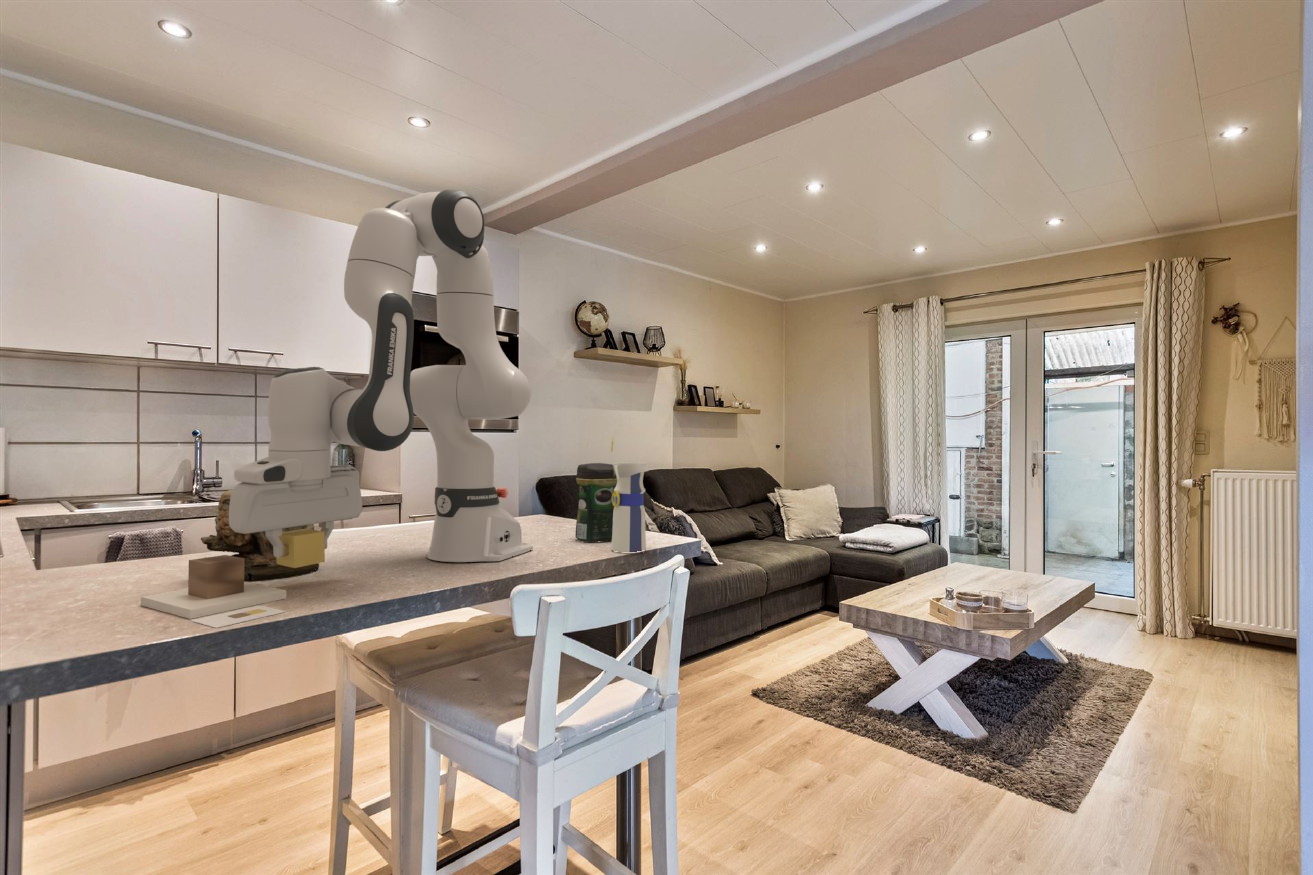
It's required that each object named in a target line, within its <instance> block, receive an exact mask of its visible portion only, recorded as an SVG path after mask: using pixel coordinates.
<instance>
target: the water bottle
mask: <svg viewBox="0 0 1313 875" xmlns="http://www.w3.org/2000/svg"><path fill="white" fill-rule="evenodd" d="M611 439H612V440H611V447H610V448H611V449H610V452H613V449H614V448H613V447H614V437H612V438H611ZM612 465H613V470H614V475H615V474H616V477H617V482H616V485H615V489H614V492H613V494H612V504H613V506H614V510H613V531H612V540H611V545H610V546H611V548H610V550H613V551H618V552H637V551H642V550H646V551H647V541H646V508H645V505H644V494H645V492H646V488H645V487H644V482H643V481H644V475H645V472H649V471H650V467H649V464H648V463H647V462H633V461H632V462H631V461H627V462H612Z"/></svg>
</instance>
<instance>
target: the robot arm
mask: <svg viewBox="0 0 1313 875" xmlns="http://www.w3.org/2000/svg"><path fill="white" fill-rule="evenodd" d="M485 230H486V229H485V219H484V213H483V210H482V209H481V207H480V205H479V203H478V201H477V200H476V198H474V196H473V195H472V194H470V193H468V192H466V191H463V190H460V189H459V190H457V189H444V190H441V191H428V192H423V193H418V194H417V195H414V196H411V197H407V198H405V199H398V200H395V201H393V202H391V203H389V204H388V205H386V206H385V207H375V208H372V209H369V210H368V211H367V212H365V213H364V214H363V216H362V217H361V219H360V222H359V224H358V225H357V228H356V230H355V234H354V236H353V239H352V242H351V245H350V248H349V253H348V258H347V262H346V266H345V273H344V281H343V282H344V283H343V294H344V296H343V297H344V299H345V302H346V303H347V305H348V307H349V308H350V309H351V310H352V311H353V313H354V314H356V316H358V317H359V318H361V319H362V320H364V321H365V322H366V323H367V325H368V326H369V328H370V330H371V338H372V339H371V350H370V351H371V352H370V358H369V370H368V378H367V379H368V380H367V383H366V384H365V386H364V387H363V388H362V389H359V388H356V387H354V386H351V385H349V384H347V383H344V382H342V381H340V380H339V379H337V378H336V377H334V376H332V375H331V374H330V373H329V372H327V371H326V369H325V368H322V367H320V366H308V367H299V368H298V367H297V368H290V369H284V370H280V371H279V372H277V373H276V374H274V375H273V377H272V379H271V383H270V386H269V392H268V393H269V394H268V406H267V423H268V426H269V430H270V440H269V444H268V448H267V449H268V453H267V454H268V456H265V457H264V458H261V459H258V460H256V461H253V462H250V463H248V464H244V465H242V466H239V467H236V469H234V473H233V476H234V480H235V481H236V482H239V483H238V484H236V485H235V486H234V487H233V488H232V489H233V490H232V493H231V497H230V505H229V526H230V527H231V528H232V530H234V531H235V532H237V533H243V534H249V533H255V532H262V531H266V537H267V538H268V540H269V541H270V543H271V544H272V545H273V554H274V556H275V557H278V558H279V557H284V556H288V555H289V552H288V550H289V545H285V544H282V542H281V540H280V539H279V537H278V536H281V535H282V529H283V528H290V527H296V526H303V525H310V524H314V525H316V524H318V528H321V529H320V531H324V536H325V550H326V549H327V548H328V539H329V537H330V536H331V533H332V532H333V530H334V528H335V522H336V521H343V520H350V519H351V520H352V519H356V518H359V517H360V515H361V514H362V512H363V498H362V493H361V486H360V471H359V470H358V469H357V467H354V466H352V465H351V464H347V463H346V464H342V465H339V464H337V465H336V464H335V465H334V464H333V465H332V463H331V462H332V461H331V460H332V457H331V456H332V455H331V449H332V448H331V445H332V444H333V443H334V442H335V443H337V444H341V445H346V446H347V445H348V446H352V447H360V448H361V447H362V448H366V449H368V450H369V449H370V450H372V451H377V452H387V451H388V452H389V451H391V450H394V449H396V448H399V447H400V446H401V445H402V444H403V443H404V442H406V440H407V439H408V438H409V436H410V435H411V433H412V430H413V426H414V422H415V416H416V417H418V418H419V419H420V420H421V421H422V422H423V424H424V425H425V426H426V428H427V429H428V431H429V433H430V435H431V437H432V440H433V442H434V446H435V451H436V464H437V465H436V468H437V469H436V470H437V472H436V473H437V480H436V481H437V482H436V483H437V484H436V487H435V488H434V496H433V497H434V505H435V516H434V521H433V528H432V536H431V541H430V546H429V549H428V554H427V556H426V557H427V558H428V559H429V560H431V561H437V562H438V561H439V562H445V563H447V562H448V563H468V562H469V563H473V562H474V563H475V562H500V561H503V560H507V559H510V558H513V557H516V556H519V555H522V554H525V553H528V552H530V550H531V551H533V550H534V549H533V548H534V547H533V545H532V544H530V543H525V542H523V541H522V539H523V538H522V527H521V524H520V522H519V521H518V520H517V519H516V518H515V517H514V516H513V515H511V514H510V513H509V512H508V511H507V510H506V509H505V508H503V507H502V506H501V504H500V499H499V498H502V499H506V498H508V496H509V490H508V488H498V487H497V489H496V487H495V486H494V483H495V482H494V477H495V476H494V475H495V452H494V451H493V448H492V447H491V445H490V444H489V443H488V442H486V441H485V440H483V439H482V438H480V437H478V436H476V435H475V434H474V433H472V430H471V428H470V427H469V420H502V419H503V420H504V419H509V418H514V417H518V416H521V415H522V414H523V413H524V412H525V410H527V408H528V405H529V403H530V399H531V396H532V395H531V394H532V393H531V386H530V383H529V380H528V378H527V377H526V375H525V373H524V372H523V371H522V370H520V369H519V368H518V367H517V366H515V365H514V364H513V363H512V362H511V361H510V360H509V358H508V357H507V356H506V354H505V352H504V351H503V349H502V347H501V345H500V342H499V340H498V336H497V331H496V321H495V302H494V301H495V298H494V296H495V295H494V282H493V281H494V279H493V274H492V273H493V272H492V266H491V260H490V257H489V252H488V250H487V248H486V247H485V246H484V245H483V243H484V241H485V240H484V238H485ZM419 257H431V258H432V260H433V262H434V264H435V267H436V271H437V273H436V318H437V319H436V320H437V323H436V324H437V326H436V327H437V331H438V334H439V335H440V337H441V338H442V339H443V340H444V341H445V342H446V343H447V344H449V345H452V346H453V347H455V348H457V349H459V350H460V351H461V353H462V355H463V356H464V360H465V364H463V365H462V364H460V365H458V364H435V365H429V366H423V367H419V368H415V369H413V370H412V359H413V347H414V334H415V333H414V332H415V319H414V318H415V317H414V316H415V315H414V310H413V306H412V299H413V291H414V285H415V283H414V282H415V277H416V273H417V272H416V271H417V262H418V259H419ZM512 556H513V557H512Z"/></svg>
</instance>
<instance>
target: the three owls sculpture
mask: <svg viewBox="0 0 1313 875" xmlns="http://www.w3.org/2000/svg"><path fill="white" fill-rule="evenodd" d="M233 489H234V488H231V489H228V490H227V491H224V492H223V493H222V494H221V495H220V498H219V501H218V505H217V506H218V507H217V510H218V511H217V513H218V515H217V516H215V518H214V522H215V523H214V524H215V532H216V534H215V535H214V534H210V535H208V536H203V537H200V540H201V542H202V544H203V545H206V548H207V550H208V551H211V552H221V553H222V552H223V553H225V552H228V553H235V554H231V555H230V556H234V557H240V558H245V559H244V582H248V581H249V574H250V575H251V577H250V580H252V581H254V582H260V581H261V582H262V581H271V580H280V579H281V580H282V579H288V578H293V577H298V576H299V577H300V576H303V575H304V576H305V575H307V574H312V572H314V571H315V572H316V571H318V570H319V569H320V563H317V564H312V565H307V566H302V567H297V568H292V567H288V566H283V565H279V564H277V557H275V556H274V554H273V545H272V544H271V543H270V541H269V540H268V538H267V537H266V531H262V532H255V533H249V534H243V533H237V532H235V531H234V530H232V528H231V527H230V526H229V505H230V497H231V493H232V490H233ZM306 528H307V529H313V530H315V524H310V525H303V526H296V527H290V528H283V529H282V532H286V531H293V530H300V529H306Z"/></svg>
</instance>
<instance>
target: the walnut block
mask: <svg viewBox="0 0 1313 875" xmlns="http://www.w3.org/2000/svg"><path fill="white" fill-rule="evenodd" d="M244 559H245V558H240V557H234V556H231V555H228V554H221V555H215V556H214V555H213V556H207V557H201V558H193V559H188V576H187V577H188V580H187V582H188V583H187V584H188V585H187V586H188V588H187V589H188V595H191V596H195V597H199V598H203V599H212V598H217V597H222V596H228V595H233V594H238V593H243V592H244Z"/></svg>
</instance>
